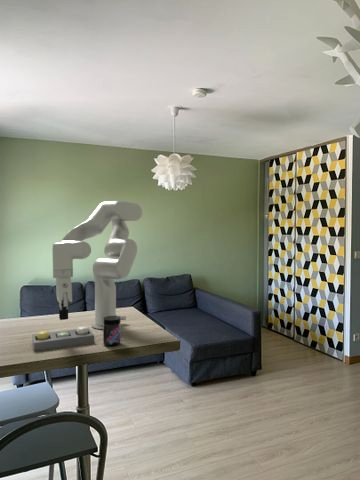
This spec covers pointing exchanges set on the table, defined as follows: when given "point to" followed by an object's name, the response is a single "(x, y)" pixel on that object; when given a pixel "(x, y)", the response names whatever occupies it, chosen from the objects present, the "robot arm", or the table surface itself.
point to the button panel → (62, 340)
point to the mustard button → (42, 335)
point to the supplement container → (111, 330)
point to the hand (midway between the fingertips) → (63, 319)
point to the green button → (62, 334)
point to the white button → (82, 330)
